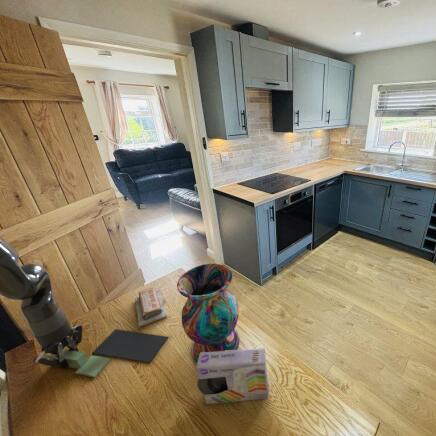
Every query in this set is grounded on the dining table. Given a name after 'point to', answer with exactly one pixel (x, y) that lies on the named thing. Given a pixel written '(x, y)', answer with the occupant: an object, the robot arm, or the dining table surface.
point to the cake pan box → (233, 375)
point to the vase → (209, 309)
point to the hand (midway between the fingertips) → (70, 361)
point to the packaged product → (149, 306)
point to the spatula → (84, 362)
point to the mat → (131, 345)
